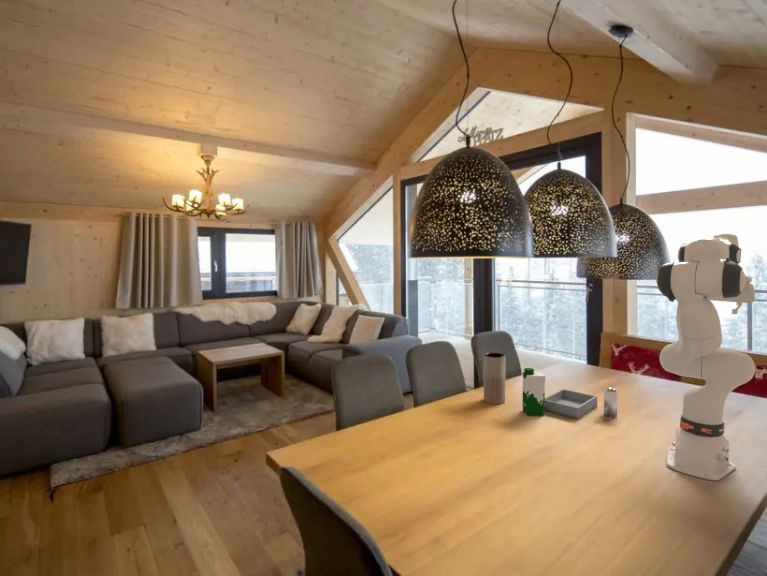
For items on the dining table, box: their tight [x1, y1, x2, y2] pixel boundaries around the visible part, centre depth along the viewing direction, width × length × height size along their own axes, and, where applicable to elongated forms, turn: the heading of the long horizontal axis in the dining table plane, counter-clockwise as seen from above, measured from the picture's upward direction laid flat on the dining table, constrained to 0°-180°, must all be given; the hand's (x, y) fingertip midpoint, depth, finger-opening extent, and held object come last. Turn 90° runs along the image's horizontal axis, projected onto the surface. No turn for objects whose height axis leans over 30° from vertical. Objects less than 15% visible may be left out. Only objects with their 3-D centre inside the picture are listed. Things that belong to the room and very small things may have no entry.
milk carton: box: [522, 367, 546, 417], centre depth 191 cm, size 9×9×20 cm
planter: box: [483, 352, 507, 405], centre depth 208 cm, size 10×10×23 cm
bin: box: [544, 388, 598, 420], centre depth 197 cm, size 22×16×5 cm
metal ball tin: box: [603, 387, 619, 419], centre depth 188 cm, size 5×5×12 cm
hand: (719, 312), depth 167 cm, fingers open, 8 cm apart
